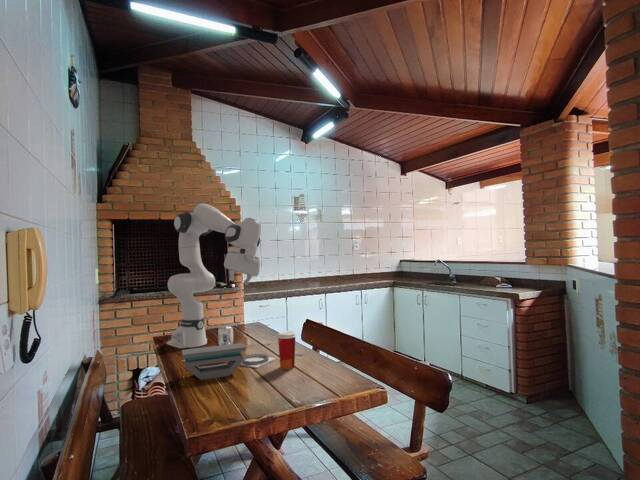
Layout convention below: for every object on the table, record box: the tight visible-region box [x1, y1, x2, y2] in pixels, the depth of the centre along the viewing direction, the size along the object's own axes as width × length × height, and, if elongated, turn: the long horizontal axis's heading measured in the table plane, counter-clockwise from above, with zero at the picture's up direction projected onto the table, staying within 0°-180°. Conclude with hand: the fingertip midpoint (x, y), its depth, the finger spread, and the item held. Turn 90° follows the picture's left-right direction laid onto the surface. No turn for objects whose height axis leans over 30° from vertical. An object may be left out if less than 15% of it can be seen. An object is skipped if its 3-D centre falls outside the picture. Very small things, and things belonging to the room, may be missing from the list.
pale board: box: [239, 356, 278, 369], centre depth 175 cm, size 14×14×1 cm
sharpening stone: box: [181, 342, 247, 381], centre depth 159 cm, size 25×8×11 cm, turn 112°
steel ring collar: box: [242, 353, 270, 365], centre depth 175 cm, size 12×12×1 cm
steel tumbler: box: [217, 325, 234, 346], centre depth 180 cm, size 7×7×15 cm
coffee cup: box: [277, 330, 297, 371], centre depth 166 cm, size 8×8×15 cm
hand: (238, 282), depth 171 cm, fingers open, 8 cm apart
